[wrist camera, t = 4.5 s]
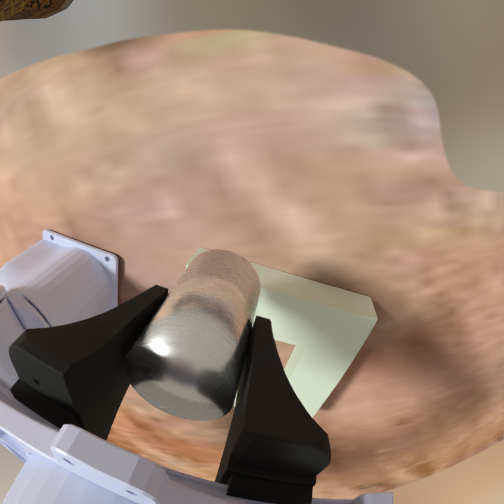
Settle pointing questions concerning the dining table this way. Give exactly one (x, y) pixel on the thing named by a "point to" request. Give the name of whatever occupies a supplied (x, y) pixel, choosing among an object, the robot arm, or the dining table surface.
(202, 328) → the peg
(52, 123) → the dining table surface
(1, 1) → the ceramic cup
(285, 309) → the socket block
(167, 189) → the dining table surface
